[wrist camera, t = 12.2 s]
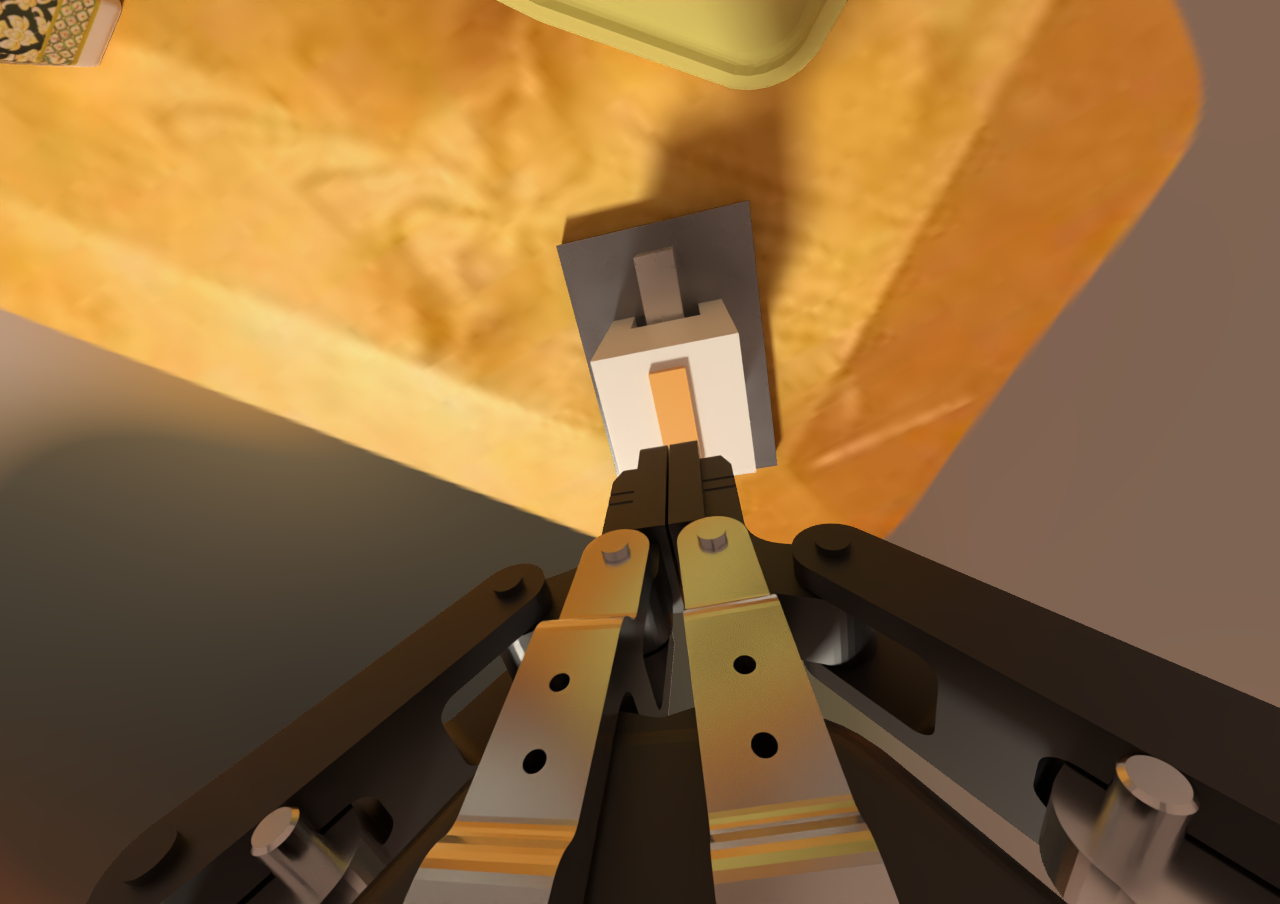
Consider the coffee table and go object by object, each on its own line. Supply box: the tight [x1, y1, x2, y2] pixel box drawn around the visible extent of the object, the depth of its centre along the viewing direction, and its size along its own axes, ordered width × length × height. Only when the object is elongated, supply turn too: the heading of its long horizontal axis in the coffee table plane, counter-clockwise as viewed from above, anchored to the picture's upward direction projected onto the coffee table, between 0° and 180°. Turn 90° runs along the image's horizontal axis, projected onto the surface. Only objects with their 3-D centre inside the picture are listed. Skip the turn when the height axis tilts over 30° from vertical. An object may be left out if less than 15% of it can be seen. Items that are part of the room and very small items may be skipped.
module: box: [590, 299, 756, 475], centre depth 19 cm, size 5×5×7 cm
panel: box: [556, 200, 777, 476], centre depth 22 cm, size 12×8×3 cm, turn 12°
